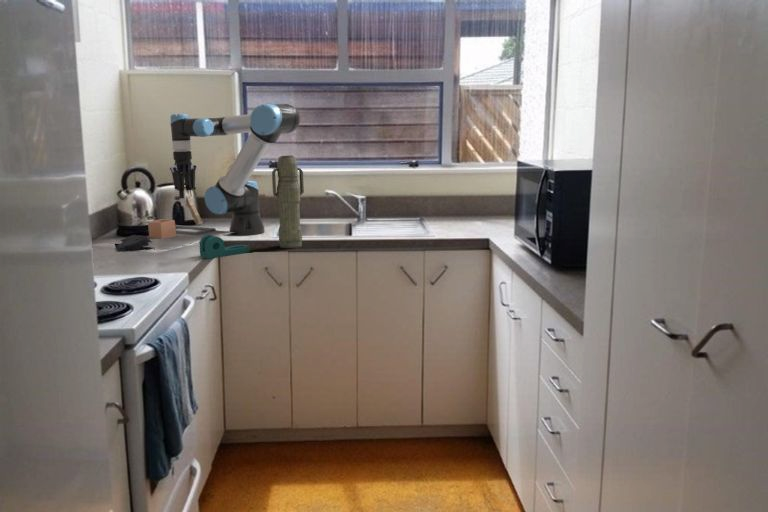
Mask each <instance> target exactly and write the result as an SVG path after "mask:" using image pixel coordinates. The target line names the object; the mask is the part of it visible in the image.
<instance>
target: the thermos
mask: <svg viewBox="0 0 768 512" xmlns="http://www.w3.org/2000/svg"><path fill="white" fill-rule="evenodd" d="M276 165H277V166H276V168H274V169H272V172H271V180H272V181H271V182H272V184H271V185H272V194H273V197H276V199H277V203H278V211H279V212H278V216H279V218H278V219H279V227H278V241H279V247H280V248H281V249H297V248H301V247H303V243H302V241H303V229H302V227H301V215H300V214H301V213H300V203H301V196H302V195H303V194H304V193H305V192H304V191H305V190H304V188H305V187H304V172H303V170H302V169H301V168H300V167H298V162H297V159H296V156H294V155H281V156H280V157H278V160H277V163H276ZM276 172H277V180H276ZM298 172H299V176H298ZM298 177H299V179H298ZM276 181H277V184H276Z"/></svg>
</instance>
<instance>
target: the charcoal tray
mask: <svg viewBox="0 0 768 512" xmlns="http://www.w3.org/2000/svg"><path fill="white" fill-rule="evenodd" d="M176 229H177V230H176ZM178 229H185V230H178ZM175 230H176V234H180V235H189V236H190V235H191V236H192V235H193V236H198V235H202V234H203V235H204V234H207V233H212V232H216V227H215V228H214V227H205V226H204V227H203V226H193V225H179V224H175ZM189 230H197V231H189Z"/></svg>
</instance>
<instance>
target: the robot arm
mask: <svg viewBox="0 0 768 512" xmlns="http://www.w3.org/2000/svg"><path fill="white" fill-rule="evenodd" d="M300 123H301V115H300V112H299V111H298V109H297V108H296V107H295V106H294V105H292V104H289V103H288V104H287V103H269V102H268V103H263V104H260V105H258V106H256V107H255V108H254V109H253V110H252V112H251V113H249V114H248V113H247V114H240V115H232V116H222V117H208V118H207V117H199V118H197V117H196V118H190V116H189V114H188V113H172V114H171V115H170V129H171V140H172V150H173V152H172V155H173V160H174V164H173V166H171V167H169V171H170V172H171V175H172V180H173V181H172V182H173V186H174V187H173V188H174V190H175V191H178V194H179V199H180V206H181V207H188V206H187V201H186V191H184V186H185V187H186V189H187V191H188V193H189V195H190V197H191V198H192V191H193V190H194V189H195V187H196V170H197V165H195V164H193V163H192V161H191V160H192V151H191V150H192V145H191V143H192V142H191V137H195V138H196V137H200V138H204V137H205V138H206V137H213V136H214V137H215V136H216V137H217V136H228V135H235V134H247V133H250V134H249V135H248V138H247V139H246V140H245V142H244V144H243V145H242V147H241V149H240V150H239V153H238V154H237V156H236V157H235V159H234V161H233V162H232V164H231V166H230V167H229V169H228V171H227V172H226V175H223V176H220V178H219V179H218V180H217V182H216V183H215V185H214V186H210V187H208V188H207V189H206V190H205V192H204V202H205V206H206V207H207V209H208V210H209V211H210V212H211V213H213V214H215V215H225V214H228V213H232V218H231V222H230V226H229V234H230V235H233V236H251V235H252V236H254V235H259V234H263V233H265V231H266V230H265V225H264V224H263V221H262V217H261V213H260V196H259V193H260V190H259V186H258V182H257V181H255V180H249V179H250V177H251V176H252V174H253V172H254V170H255V169H256V167H258V164H259V163H260V161H261V159H262V158H263V156H264V155H265V153H266V152H267V150H268V148H269V147H270V145H275V144H276V142H278V140H279V138H280V136H281V135H282V134H284V135H285V134H290V133H293V132H295V131H296V130H297V129H298V128H299V126H300Z"/></svg>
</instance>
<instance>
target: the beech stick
mask: <svg viewBox="0 0 768 512" xmlns="http://www.w3.org/2000/svg"><path fill="white" fill-rule="evenodd" d="M184 191H186V201H187V206H186V207H187V209H188V210H189V213H190V215H191V217H192V219H193V221H194V224H195V225H196V227H199V226H201V225H203V224H204V222H203V220H202V218H201V216H200V214H199V212H198V210H197V208H196V206H195V204H194V201H193V199H192V197H190V195H189V193H188V191H187V189H186V186H185V185H184Z"/></svg>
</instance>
